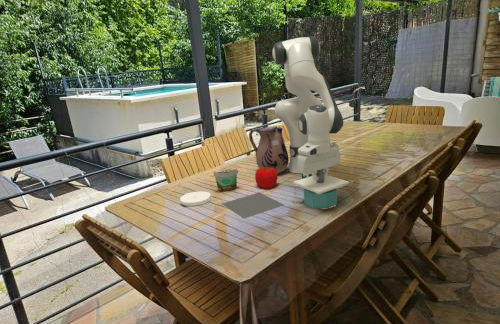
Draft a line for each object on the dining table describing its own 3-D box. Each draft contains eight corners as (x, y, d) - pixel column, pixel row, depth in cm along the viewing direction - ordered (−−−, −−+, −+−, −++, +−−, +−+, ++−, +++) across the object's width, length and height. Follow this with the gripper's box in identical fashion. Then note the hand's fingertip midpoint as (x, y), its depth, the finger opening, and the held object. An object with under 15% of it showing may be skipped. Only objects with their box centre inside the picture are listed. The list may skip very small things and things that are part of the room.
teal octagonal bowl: (321, 194, 154) (321, 180, 152) (343, 203, 143) (343, 187, 141) (298, 202, 147) (298, 187, 145) (319, 212, 136) (319, 196, 134)
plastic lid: (174, 203, 160) (174, 198, 159) (199, 194, 169) (198, 189, 168) (192, 210, 150) (191, 205, 149) (217, 200, 159) (216, 195, 158)
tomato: (260, 192, 163) (258, 172, 160) (252, 184, 175) (251, 165, 172) (282, 188, 166) (281, 168, 163) (273, 180, 177) (272, 161, 175)
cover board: (321, 175, 153) (321, 164, 152) (348, 184, 140) (348, 172, 138) (293, 183, 146) (292, 172, 144) (318, 194, 132) (318, 181, 131)
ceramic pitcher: (287, 177, 181) (284, 130, 175) (248, 177, 186) (244, 132, 179) (290, 167, 198) (288, 124, 191) (254, 167, 202) (251, 125, 196)
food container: (217, 194, 165) (215, 174, 163) (215, 190, 171) (212, 171, 168) (242, 190, 168) (240, 170, 165) (239, 186, 174) (237, 167, 171)
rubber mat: (259, 193, 162) (259, 192, 162) (284, 205, 145) (284, 204, 145) (221, 204, 153) (221, 203, 152) (244, 219, 136) (243, 218, 136)
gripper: (332, 140, 146) (333, 171, 150) (294, 150, 136) (296, 183, 140) (343, 143, 141) (343, 175, 144) (304, 152, 131) (306, 187, 135)
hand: (320, 179), depth 142 cm, fingers closed on cover board, 3 cm apart
